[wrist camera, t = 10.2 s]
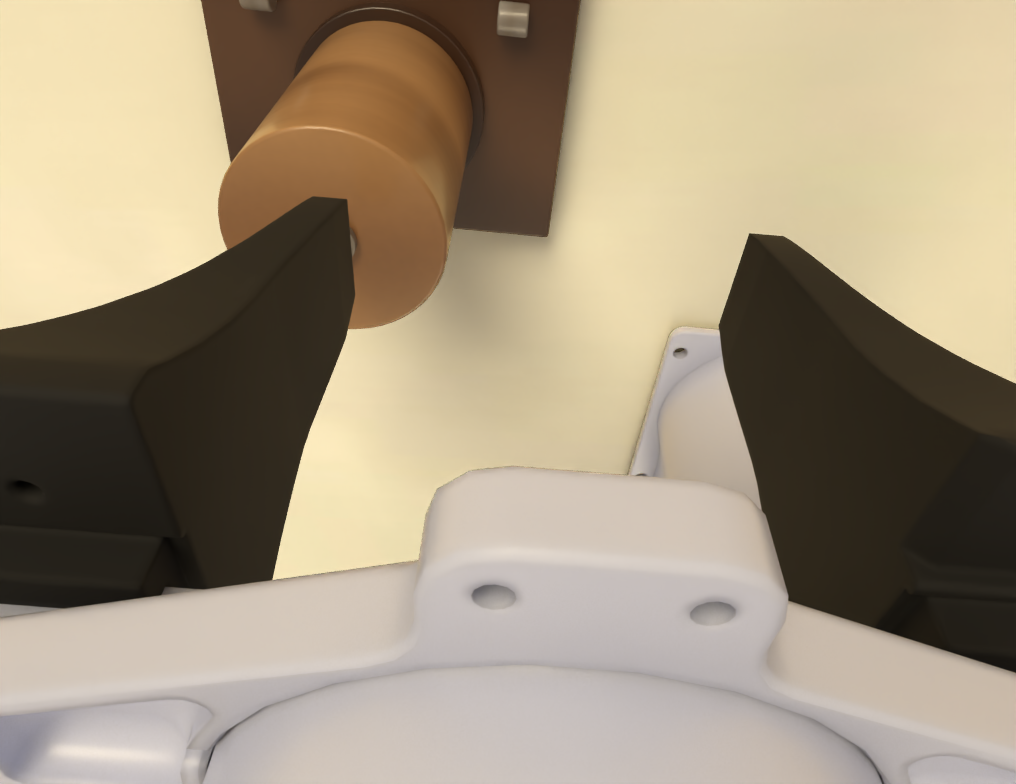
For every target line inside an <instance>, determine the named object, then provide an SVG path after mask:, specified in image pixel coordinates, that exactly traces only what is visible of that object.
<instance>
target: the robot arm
mask: <svg viewBox="0 0 1016 784" xmlns="http://www.w3.org/2000/svg"><path fill="white" fill-rule="evenodd" d="M354 299H355V285H354V273H353V261H352V250H351V238H350V226H349V214H348V202H347V199H340V198H329V197H317V196H312V197H311V198H309V199H307V200H305V201H303V202H302V203H300V204H299V205H297V206H296V207H294V208H293V209H291V210H290V211H288V212H287V213H285V214H284V215H282V216H281V217H279V218H278V219H276V220H275V221H273V222H272V223H270V224H269V225H267V226H266V227H264V228H263V229H261V230H259V231H258V232H256V233H255V234H253V235H252V236H250V237H249V238H247V239H246V240H244V241H242V242H241V243H239V244H237V245H235V246H234V247H232V248H230V249H229V250H227V251H225V252H223V253H222V254H220V255H218V256H216V257H215V258H213V259H211V260H210V261H208V262H206V263H204V264H202V265H200V266H198V267H196V268H194V269H192V270H190V271H188V272H186V273H184V274H182V275H180V276H178V277H175V278H173V279H171V280H169V281H166V282H164V283H162V284H160V285H157V286H155V287H152V288H150V289H147V290H144V291H141V292H138V293H136V294H133V295H130V296H127V297H124V298H121V299H118V300H116V301H113V302H110V303H107V304H104V305H101V306H98V307H95V308H91V309H88V310H84V311H80V312H77V313H73V314H70V315H66V316H62V317H58V318H54V319H49V320H45V321H41V322H37V323H32V324H28V325H23V326H18V327H12V328H7V329H1V330H0V784H1016V384H1015V383H1013V382H1011V381H1009V380H1006V379H1004V378H1002V377H1000V376H998V375H996V374H994V373H992V372H989V371H987V370H985V369H983V368H981V367H979V366H977V365H974V364H973V363H971V362H969V361H967V360H965V359H963V358H961V357H959V356H957V355H955V354H953V353H951V352H950V351H948V350H946V349H944V348H943V347H941V346H939V345H937V344H936V343H934V342H932V341H930V340H929V339H927V338H925V337H923V336H922V335H920V334H918V333H917V332H915V331H914V330H912V329H910V328H909V327H907V326H906V325H904V324H903V323H901V322H900V321H898V320H897V319H895V318H894V317H892V316H891V315H889V314H888V313H887V312H885V311H884V310H882V309H881V308H879V307H878V306H876V305H875V304H874V303H872V302H871V301H870V300H868V299H867V298H865V297H864V296H863V295H861V294H860V293H859V292H857V291H856V290H855V289H853V288H852V287H851V286H850V285H848V284H847V283H846V282H844V281H843V280H842V279H840V278H839V277H838V276H837V275H835V274H834V273H833V272H832V271H830V270H829V269H828V268H826V267H825V266H824V265H823V264H821V263H820V262H819V261H818V260H816V259H815V258H814V257H812V256H811V255H810V254H809V253H807V252H806V251H805V250H803V249H802V248H801V247H799V246H798V245H796V244H795V243H793V242H792V241H790V240H789V239H787V238H785V237H784V236H774V235H762V234H750V233H749V236H748V239H747V242H746V245H745V248H744V251H743V254H742V257H741V260H740V263H739V266H738V269H737V272H736V275H735V278H734V281H733V284H732V287H731V290H730V293H729V296H728V299H727V302H726V305H725V308H724V311H723V314H722V317H721V320H720V323H719V329H708V328H697V327H687V326H684V327H678V328H676V329H674V330H673V331H672V332H671V333H670V335H669V338H668V341H667V344H666V348H665V351H664V354H663V358H662V361H661V365H660V368H659V371H658V375H657V378H656V382H655V385H654V388H653V392H652V395H651V398H650V402H649V405H648V409H647V412H646V415H645V419H644V422H643V426H642V429H641V432H640V436H639V439H638V442H637V446H636V449H635V453H634V456H633V459H632V463H631V466H630V470H629V473H628V475H621V474H608V473H596V472H583V471H571V470H558V469H545V468H533V467H520V466H507V467H497V468H487V469H477V470H471V471H468V472H466V473H464V474H463V475H461V476H459V477H457V478H456V479H454V480H452V481H450V482H449V483H447V484H445V485H443V486H441V487H440V488H438V489H437V490H436V492H435V494H434V497H433V499H432V501H431V504H430V506H429V508H428V511H427V513H426V516H425V522H424V529H423V535H422V541H421V547H420V554H419V560H416V561H409V562H401V563H394V564H387V565H379V566H372V567H365V568H357V569H350V570H343V571H335V572H328V573H321V574H314V575H306V576H299V577H292V578H284V579H277V580H272V578H273V574H274V569H275V565H276V560H277V555H278V551H279V546H280V541H281V537H282V533H283V528H284V524H285V520H286V516H287V512H288V507H289V503H290V499H291V495H292V491H293V487H294V483H295V479H296V475H297V471H298V468H299V464H300V460H301V456H302V452H303V449H304V445H305V442H306V440H307V437H308V434H309V431H310V428H311V425H312V423H313V420H314V418H315V415H316V413H317V410H318V408H319V405H320V403H321V400H322V398H323V395H324V393H325V390H326V388H327V385H328V383H329V380H330V378H331V375H332V373H333V370H334V367H335V365H336V362H337V360H338V357H339V355H340V352H341V349H342V347H343V344H344V341H345V339H346V335H347V331H348V326H349V322H350V318H351V313H352V309H353V304H354ZM678 348H684V349H685V350H684V351H682V352H674V351H675V350H676V349H678ZM640 473H643V474H640ZM639 474H640V475H639Z"/></svg>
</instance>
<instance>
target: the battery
mask: <svg viewBox="0 0 1016 784" xmlns="http://www.w3.org/2000/svg"><path fill="white" fill-rule="evenodd" d="M484 116H485V104H484V96H483V89H482V86H481V82H480V78H479V76H478V73H477V71H476V68H475V66H474V64H473V62H472V60H471V58H470V57H469V55H468V53H467V52H466V50H465V49H464V48H463V46H462V45H461V43H460V42H459V41H458V40H457V39H456V38H455V37H454V36H453V35H452V34H451V32H449V31H448V30H447V29H446V28H445V27H443V26H442V25H441V24H440V23H438V22H437V21H435V20H434V19H432V18H431V17H429V16H428V15H426V14H423V13H421V12H419V11H417V10H415V9H412V8H409V7H406V6H403V5H398V4H392V3H380V2H373V3H365V4H359V5H356V6H352V7H349V8H346V9H344V10H342V11H340V12H337V13H336V14H334V15H333V16H331V17H330V18H328V19H327V20H326V21H325V22H323V23H322V24H321V25H320V26H319V27H318V28H317V29H316V31H315V32H314V33H313V34H312V36H311V37H310V38H309V39H308V41H307V42H306V44H305V45H304V47H303V49H302V51H301V52H300V55H299V57H298V60H297V63H296V66H295V70H294V75H293V81H292V83H291V84H290V85H289V87H288V88H287V89H286V91H285V92H284V93H283V95H282V96H281V97H280V99H279V100H278V101H277V103H276V104H275V105H274V107H273V108H272V109H271V111H270V112H269V113H268V115H267V116H266V117H265V119H264V120H263V121H262V123H261V124H260V125H259V126H258V128H257V129H256V130H255V132H254V133H253V134H252V136H251V137H250V138H249V140H248V141H247V142H246V144H245V145H244V146H243V148H242V149H241V150H240V152H239V153H238V154H237V156H236V157H235V158H234V160H233V161H232V162H231V164H230V166H229V168H228V170H227V171H226V173H225V175H224V178H223V181H222V184H221V187H220V193H219V198H218V216H219V223H220V229H221V233H222V236H223V240H224V243H225V245H226V247H227V250H229V249H230V248H232V247H234V246H235V245H237V244H239V243H241V242H242V241H244V240H246V239H247V238H249V237H250V236H252V235H253V234H255V233H256V232H258V231H259V230H261V229H263V228H264V227H266V226H267V225H269V224H270V223H272V222H273V221H275V220H276V219H278V218H279V217H281V216H282V215H284V214H285V213H287V212H288V211H290V210H291V209H293V208H294V207H296V206H297V205H299V204H300V203H302V202H303V201H305V200H307V199H309V198H311V197H312V196H317V197H329V198H340V199H347V202H348V214H349V226H350V238H351V250H352V261H353V273H354V285H355V299H354V304H353V309H352V313H351V318H350V322H349V326H348V329H363V328H372V327H377V326H382V325H385V324H388V323H392V322H394V321H396V320H399V319H401V318H403V317H405V316H406V315H408V314H410V313H411V312H413V311H414V310H416V309H417V308H418V307H419V306H420V305H422V304H423V303H424V302H425V301H426V300H427V299H428V297H429V296H430V295H431V294H432V293H433V291H434V290H435V288H436V286H437V285H438V283H439V281H440V279H441V277H442V274H443V272H444V268H445V265H446V261H447V256H448V251H449V246H450V240H451V235H452V230H453V225H454V220H455V215H456V210H457V204H458V199H459V194H460V189H461V184H462V179H463V174H464V170H465V169H466V167H467V166H468V165H469V163H470V162H471V160H472V158H473V157H474V155H475V153H476V150H477V148H478V146H479V143H480V139H481V135H482V131H483V124H484Z"/></svg>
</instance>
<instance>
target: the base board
mask: <svg viewBox="0 0 1016 784" xmlns="http://www.w3.org/2000/svg"><path fill="white" fill-rule="evenodd" d="M580 1H581V0H201V2H202V8H203V13H204V18H205V24H206V29H207V35H208V40H209V46H210V51H211V57H212V62H213V68H214V73H215V79H216V84H217V90H218V95H219V101H220V106H221V112H222V117H223V122H224V128H225V133H226V139H227V144H228V150H229V155H230V161H231V162H232V161H233V160H234V158H235V157H236V156H237V154H238V153H239V152H240V150H241V149H242V148H243V146H244V145H245V144H246V142H247V141H248V140H249V138H250V137H251V136H252V134H253V133H254V132H255V130H256V129H257V128H258V126H259V125H260V124H261V123H262V121H263V120H264V119H265V117H266V116H267V115H268V113H269V112H270V111H271V109H272V108H273V107H274V105H275V104H276V103H277V101H278V100H279V99H280V97H281V96H282V95H283V93H284V92H285V91H286V89H287V88H288V87H289V85H290V84H291V83H292V81H293V75H294V70H295V66H296V63H297V60H298V57H299V55H300V52H301V51H302V49H303V47H304V45H305V44H306V42H307V41H308V39H309V38H310V37H311V36H312V34H313V33H314V32H315V31H316V29H317V28H318V27H319V26H320V25H321V24H322V23H323V22H325V21H326V20H327V19H328V18H330V17H331V16H333V15H334V14H336V13H337V12H340V11H342V10H344V9H346V8H349V7H352V6H356V5H359V4H365V3H373V2H380V3H392V4H398V5H403V6H406V7H409V8H412V9H415V10H417V11H419V12H421V13H423V14H426V15H428V16H429V17H431V18H432V19H434V20H435V21H437V22H438V23H440V24H441V25H442V26H443V27H445V28H446V29H447V30H448V31H449V32H451V34H452V35H453V36H454V37H455V38H456V39H457V40H458V41H459V42H460V43H461V45H462V46H463V48H464V49H465V50H466V52H467V53H468V55H469V57H470V58H471V60H472V62H473V64H474V66H475V68H476V71H477V73H478V76H479V78H480V82H481V86H482V89H483V96H484V104H485V116H484V124H483V131H482V135H481V139H480V143H479V146H478V148H477V150H476V153H475V155H474V157H473V158H472V160H471V162H470V163H469V165H468V166H467V167H466V169H465V170H464V174H463V179H462V184H461V189H460V194H459V199H458V204H457V210H456V215H455V220H454V225H453V228H456V229H466V230H477V231H487V232H497V233H508V234H518V235H529V236H539V237H547V236H548V234H549V227H550V219H551V212H552V205H553V197H554V190H555V183H556V176H557V168H558V161H559V154H560V146H561V139H562V132H563V125H564V117H565V110H566V103H567V95H568V88H569V81H570V74H571V66H572V59H573V52H574V44H575V37H576V30H577V22H578V15H579V8H580Z"/></svg>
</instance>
